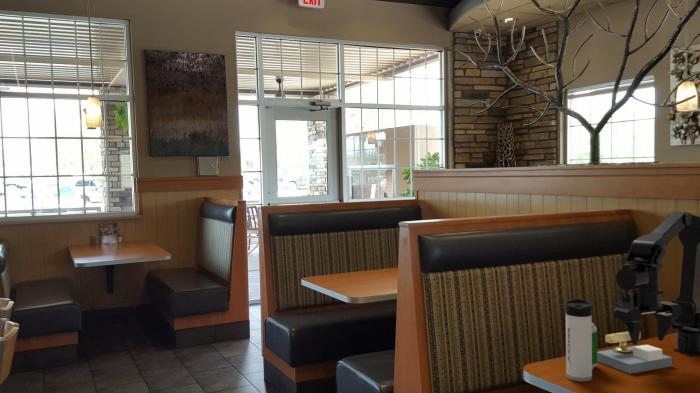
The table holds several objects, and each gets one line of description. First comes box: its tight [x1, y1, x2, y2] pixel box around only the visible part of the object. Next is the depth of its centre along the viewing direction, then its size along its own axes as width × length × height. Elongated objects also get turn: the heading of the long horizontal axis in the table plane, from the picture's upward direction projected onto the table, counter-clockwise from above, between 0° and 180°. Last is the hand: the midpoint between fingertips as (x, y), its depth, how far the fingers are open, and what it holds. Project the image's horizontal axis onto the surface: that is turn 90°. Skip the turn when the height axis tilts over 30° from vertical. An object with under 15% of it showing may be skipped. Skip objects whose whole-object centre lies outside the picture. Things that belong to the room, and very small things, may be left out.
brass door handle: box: [604, 331, 642, 353], centre depth 166 cm, size 4×11×5 cm, turn 110°
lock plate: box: [597, 345, 673, 374], centre depth 162 cm, size 15×12×3 cm
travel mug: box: [565, 298, 593, 383], centre depth 152 cm, size 6×7×20 cm
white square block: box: [633, 344, 663, 361], centre depth 160 cm, size 5×5×3 cm
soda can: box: [592, 322, 598, 370], centre depth 160 cm, size 8×8×12 cm
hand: (647, 342), depth 159 cm, fingers open, 9 cm apart
